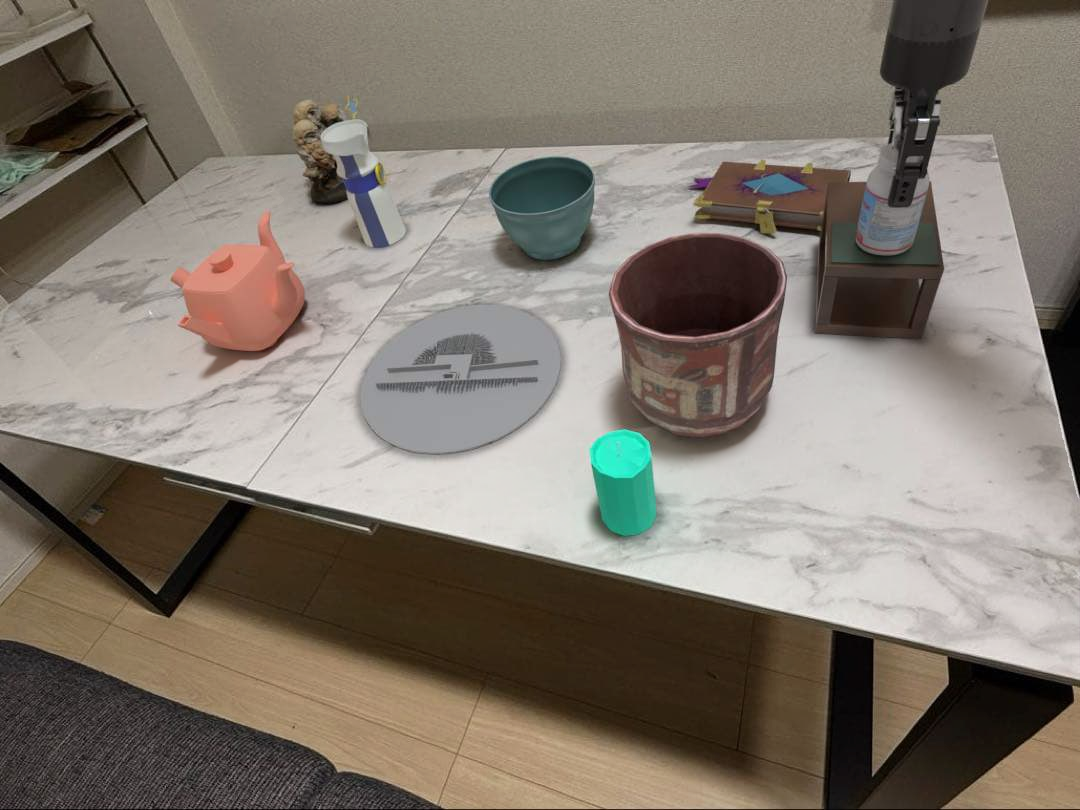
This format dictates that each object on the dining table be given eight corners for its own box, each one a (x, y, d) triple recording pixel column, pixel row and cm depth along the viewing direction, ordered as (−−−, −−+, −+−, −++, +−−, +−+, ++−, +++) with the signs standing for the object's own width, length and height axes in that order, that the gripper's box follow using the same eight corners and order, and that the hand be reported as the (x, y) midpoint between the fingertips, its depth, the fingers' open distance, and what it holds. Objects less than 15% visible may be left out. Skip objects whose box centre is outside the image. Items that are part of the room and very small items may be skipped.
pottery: (629, 349, 88) (617, 234, 75) (769, 347, 84) (781, 225, 71) (617, 456, 77) (600, 342, 64) (778, 460, 73) (795, 339, 60)
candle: (596, 532, 71) (581, 465, 62) (605, 486, 74) (593, 416, 66) (653, 539, 69) (646, 470, 60) (660, 491, 73) (654, 420, 64)
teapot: (304, 275, 115) (266, 205, 105) (331, 331, 103) (291, 257, 93) (202, 320, 111) (152, 251, 101) (217, 384, 99) (163, 313, 89)
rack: (911, 250, 91) (931, 179, 84) (921, 339, 80) (945, 267, 73) (818, 248, 95) (828, 180, 87) (815, 333, 84) (826, 264, 76)
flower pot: (618, 221, 109) (611, 159, 101) (576, 282, 100) (565, 219, 92) (532, 210, 116) (520, 152, 108) (486, 266, 107) (469, 206, 99)
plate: (333, 454, 85) (329, 448, 84) (393, 310, 103) (391, 304, 102) (546, 454, 79) (544, 448, 78) (571, 301, 97) (570, 295, 96)
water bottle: (411, 217, 121) (360, 77, 103) (404, 244, 116) (349, 101, 98) (368, 224, 123) (311, 86, 104) (359, 251, 117) (296, 111, 99)
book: (697, 177, 115) (697, 149, 111) (851, 189, 105) (856, 159, 101) (665, 226, 105) (664, 197, 102) (830, 245, 95) (836, 213, 92)
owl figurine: (350, 208, 128) (312, 122, 115) (298, 209, 131) (256, 125, 119) (386, 160, 139) (355, 76, 127) (338, 162, 143) (303, 81, 130)
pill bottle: (861, 224, 80) (879, 134, 72) (917, 232, 77) (943, 139, 69) (848, 253, 77) (865, 163, 69) (906, 262, 74) (931, 169, 66)
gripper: (993, 51, 55) (941, 221, 66) (972, -12, 63) (930, 149, 75) (892, 57, 57) (859, 221, 69) (885, -4, 66) (857, 151, 77)
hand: (896, 183), depth 72 cm, fingers open, 8 cm apart
